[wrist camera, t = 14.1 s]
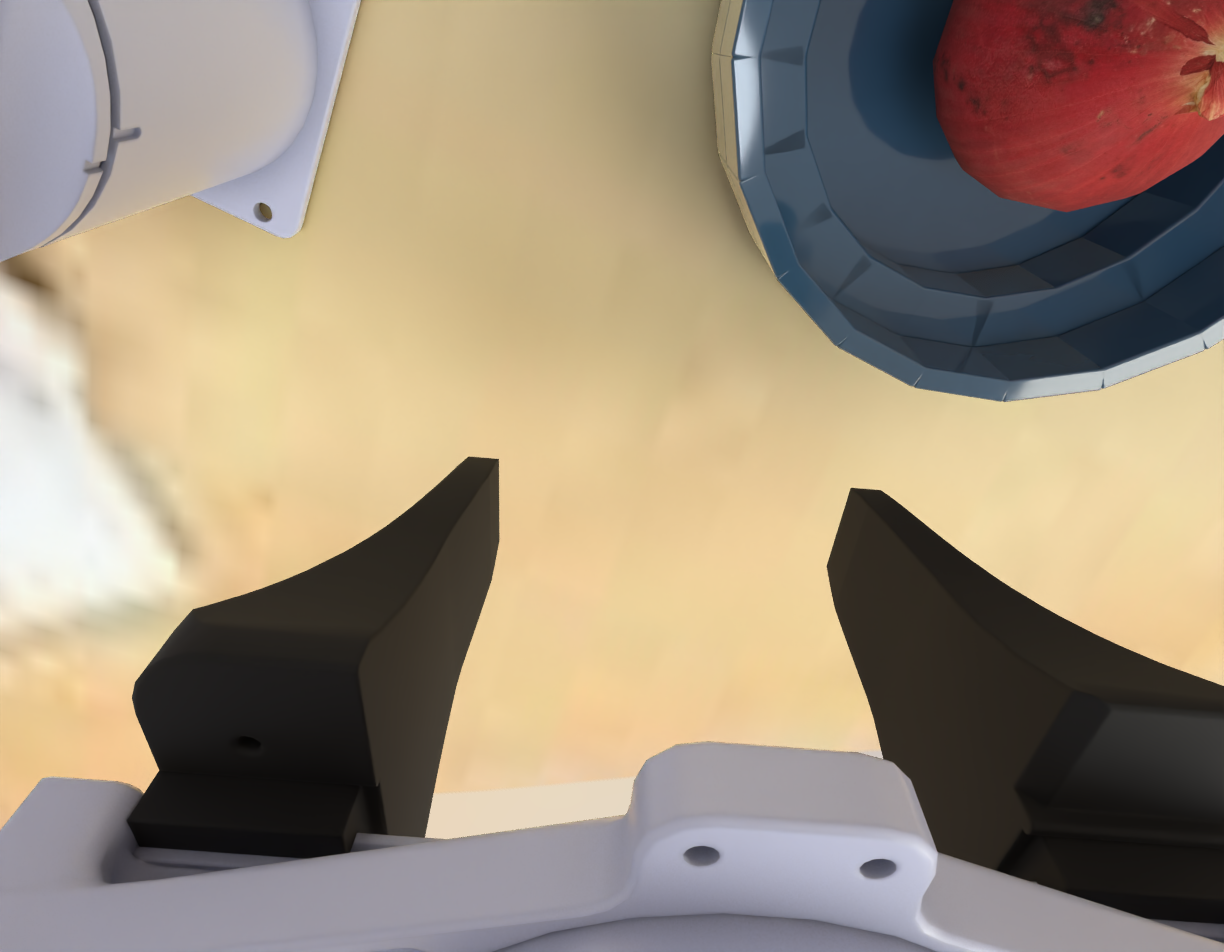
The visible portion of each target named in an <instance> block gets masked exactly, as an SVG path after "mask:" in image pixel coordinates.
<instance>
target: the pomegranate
mask: <svg viewBox="0 0 1224 952" xmlns="http://www.w3.org/2000/svg"><path fill="white" fill-rule="evenodd" d="M933 73H934V88H935V103H936V117H937V119H938V121H939V123H940V126H941V128H942V130H943V132H944V134H945V137H946V139H947V141H948V143H949V146H950V148H951V150H952V152H953V154H954V157H955V159H956V160H957V162H958V163H959V165H960V167H961V168H962V170H964V171H965V172H966V173H968V174H969V175H970V176H972V177H973V178H974V179H976V180H977V181H978V182H980V183H981V184H982V185H984V186H985V187H986V188H988V189H989V190H990V191H992V192H993V193H994V194H996V195H997V196H998V197H1000V198H1004V199H1009V200H1013V201H1018V202H1022V203H1026V204H1031V205H1035V206H1040V207H1044V208H1049V209H1054V210H1058V211H1063V212H1070V211H1074V210H1078V209H1083V208H1087V207H1091V206H1095V205H1099V204H1104V203H1108V202H1112V201H1116V200H1121V199H1125V198H1127V197H1130V196H1133V195H1136V194H1139V193H1142V192H1143V191H1145V190H1147V189H1148V188H1150V187H1152V186H1153V185H1155V184H1157V183H1158V182H1160V181H1162V180H1163V179H1165V178H1167V177H1168V176H1170V175H1172V174H1173V173H1175V172H1177V171H1178V170H1180V169H1182V168H1183V167H1185V166H1187V165H1189V164H1190V163H1192V162H1193V161H1195V160H1196V159H1198V158H1199V157H1200V156H1202V155H1203V154H1204V153H1205V152H1206V151H1207V150H1208V149H1209V148H1210V147H1211V146H1212V145H1213V144H1214V143H1215V142H1216V141H1217V140H1218V139H1219V138H1220V137H1221V136H1222V135H1223V134H1224V0H953V3H952V6H951V9H950V12H949V15H948V18H947V21H946V24H945V27H944V30H943V33H942V36H941V39H940V42H939V45H938V48H937V51H936V54H935V56H934V59H933Z"/></svg>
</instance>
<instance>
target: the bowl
mask: <svg viewBox="0 0 1224 952" xmlns="http://www.w3.org/2000/svg"><path fill="white" fill-rule="evenodd" d="M952 3H953V0H721V3H720V8H719V13H718V18H717V23H716V28H715V33H714V38H713V43H712V48H711V51H712V53H713V54H712V55H711V65H712V79H713V92H714V106H715V119H716V133H717V146H718V151H719V158H720V160H721V163H722V165H723V168H724V170H725V173H726V175H727V178H728V180H729V183H730V185H731V188H732V190H733V193H734V195H735V198H736V200H737V203H738V205H739V208H740V210H741V213H742V216H743V218H744V221H745V223H746V226H747V228H748V231H749V233H750V234H751V236H752V238H753V240H754V241H755V243H756V245H757V246H758V248H759V250H760V251H761V253H762V255H763V257H764V258H765V260H766V262H767V263H768V265H769V267H770V269H771V270H772V272H773V274H774V275H775V277H776V279H777V280H778V282H779V283H780V284H781V285H782V286H783V287H784V288H785V289H786V291H787V292H788V293H789V294H790V295H791V296H792V297H793V299H794V300H795V301H796V302H797V303H798V304H799V305H800V307H801V308H802V309H803V310H804V311H805V312H806V313H807V314H808V316H809V317H810V318H811V319H812V320H813V321H814V322H815V324H816V325H817V326H818V327H819V328H820V329H821V330H822V331H823V333H824V334H825V335H826V336H827V337H828V338H829V339H830V341H831V342H832V343H833V344H834V345H835V346H837V347H838V348H840V349H841V350H843V351H845V352H847V353H849V354H851V355H853V356H855V357H856V358H858V359H860V360H862V361H864V362H866V363H868V364H870V365H872V366H873V367H875V368H877V369H879V370H881V371H883V372H885V373H887V374H888V375H890V376H892V377H894V378H896V379H898V380H900V381H902V382H903V383H905V384H907V385H909V386H913V387H915V388H919V389H925V390H931V391H937V392H944V393H950V394H956V395H963V396H969V397H975V398H981V399H988V400H994V401H1000V402H1001V401H1004V402H1008V401H1016V400H1024V399H1032V398H1040V397H1048V396H1056V395H1064V394H1072V393H1080V392H1088V391H1096V390H1101V388H1102V389H1103V388H1107V387H1109V386H1112V385H1115V384H1117V383H1120V382H1123V381H1125V380H1128V379H1131V378H1133V377H1136V376H1139V375H1141V374H1144V373H1147V372H1149V371H1152V370H1154V369H1157V368H1160V367H1162V366H1165V365H1168V364H1170V363H1173V362H1176V361H1178V360H1181V359H1184V358H1186V357H1189V356H1191V355H1194V354H1197V353H1199V352H1202V351H1204V350H1205V349H1209V348H1211V347H1212V346H1214V345H1215V344H1217V343H1218V342H1220V341H1222V340H1223V339H1224V134H1223V135H1222V136H1221V137H1220V138H1219V139H1218V140H1217V141H1216V142H1215V143H1214V144H1213V145H1212V146H1211V147H1210V148H1209V149H1208V150H1207V151H1206V152H1205V153H1204V154H1203V155H1202V156H1200V157H1199V158H1198V159H1196V160H1195V161H1193V162H1192V163H1190V164H1189V165H1187V166H1185V167H1183V168H1182V169H1180V170H1178V171H1177V172H1175V173H1173V174H1172V175H1170V176H1168V177H1167V178H1165V179H1163V180H1162V181H1160V182H1158V183H1157V184H1155V185H1153V186H1152V187H1150V188H1148V189H1147V190H1145V191H1143V192H1142V193H1139V194H1136V195H1133V196H1130V197H1127V198H1125V199H1121V200H1116V201H1112V202H1108V203H1104V204H1099V205H1095V206H1091V207H1087V208H1083V209H1078V210H1074V211H1070V212H1063V211H1058V210H1054V209H1049V208H1044V207H1040V206H1035V205H1031V204H1026V203H1022V202H1018V201H1013V200H1009V199H1004V198H1000V197H998V196H997V195H996V194H994V193H993V192H992V191H990V190H989V189H988V188H986V187H985V186H984V185H982V184H981V183H980V182H978V181H977V180H976V179H974V178H973V177H972V176H970V175H969V174H968V173H966V172H965V171H964V170H962V168H961V167H960V165H959V163H958V162H957V160H956V159H955V157H954V154H953V152H952V150H951V148H950V146H949V143H948V141H947V139H946V137H945V134H944V132H943V130H942V128H941V126H940V123H939V121H938V119H937V117H936V103H935V88H934V73H933V59H934V56H935V54H936V51H937V48H938V45H939V42H940V39H941V36H942V33H943V30H944V27H945V24H946V21H947V18H948V15H949V12H950V9H951V6H952Z"/></svg>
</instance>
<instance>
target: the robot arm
mask: <svg viewBox="0 0 1224 952" xmlns="http://www.w3.org/2000/svg"><path fill="white" fill-rule="evenodd" d="M360 3H361V0H0V262H2V261H4V260H7V259H9V258H12V257H14V256H17V255H20V254H22V253H25V252H28V251H31V250H33V249H36V248H40V247H44V246H46V245H49V244H52V243H55V242H58V241H61V240H63V239H66V238H69V237H72V236H75V235H78V234H80V233H83V232H86V231H89V230H92V229H95V228H97V227H100V226H103V225H106V224H109V223H112V222H114V221H117V220H120V219H123V218H126V217H129V216H131V215H134V214H137V213H140V212H143V211H146V210H148V209H151V208H154V207H157V206H160V205H163V204H165V203H168V202H171V201H174V200H177V199H180V198H182V197H185V196H188V195H191V196H193V197H195V198H197V199H199V200H201V201H203V202H206V203H208V204H210V205H212V206H214V207H216V208H218V209H220V210H222V211H225V212H227V213H229V214H231V215H233V216H235V217H237V218H239V219H241V220H244V221H246V222H248V223H250V224H252V225H254V226H256V227H258V228H260V229H263V230H265V231H267V232H269V233H271V234H273V235H275V236H278V237H281V238H290V237H292V236H294V235H295V234H297V233H298V232H300V230H301V228H302V225H303V222H304V218H305V214H306V210H307V206H308V202H309V199H310V195H311V191H312V187H313V183H314V179H315V175H316V172H317V168H318V164H319V160H320V156H321V152H322V149H323V145H324V141H325V137H326V133H327V129H328V126H329V122H330V118H331V114H332V110H333V106H334V102H335V99H336V95H337V91H338V87H339V83H340V79H341V76H342V72H343V68H344V64H345V60H346V56H347V53H348V49H349V45H350V41H351V37H352V33H353V29H354V26H355V22H356V18H357V14H358V10H359V6H360ZM260 203H264V204H266V205H267V206H268V207H269V208H270V209H271V211H272V218H271V219H268V218H266V217H265V216H263V215H262V213H261V211H260ZM498 544H499V459H491V458H479V457H468V458H467V459H465V460H464V461H463V462H462V463H461V464H460V465H458V466H457V467H456V468H455V469H454V470H453V471H452V472H451V473H450V474H449V475H448V476H447V477H445V478H444V479H443V480H442V481H441V482H440V483H439V484H438V485H437V486H436V487H434V488H433V489H432V490H431V491H430V492H429V493H427V494H426V495H425V496H424V497H423V498H422V499H420V500H419V501H418V502H417V503H416V504H415V505H413V506H412V507H411V508H410V509H408V510H407V511H406V512H405V513H403V514H402V515H401V516H399V517H398V518H397V519H395V520H394V521H393V522H391V523H390V524H389V525H387V526H386V527H384V528H383V529H381V530H380V531H378V532H377V533H375V534H374V535H372V536H371V537H369V538H367V539H366V540H364V541H362V542H361V543H359V544H357V545H356V546H354V547H352V548H351V549H349V550H347V551H345V552H343V553H341V554H339V555H337V556H335V557H333V558H331V559H329V560H327V561H325V562H323V563H321V564H319V565H317V566H315V567H313V568H311V569H309V570H307V571H305V572H302V573H300V574H298V575H295V576H293V577H290V578H288V579H286V580H283V581H281V582H278V583H275V584H273V585H270V586H267V587H265V588H262V589H259V590H256V591H253V592H250V593H247V594H244V595H241V596H238V597H234V598H231V599H228V600H224V601H221V602H217V603H214V604H211V605H207V606H204V607H200V608H196V609H193V610H192V611H191V612H190V613H189V614H188V616H187V617H186V618H185V619H184V620H183V621H182V622H181V623H180V625H179V626H178V627H177V628H176V629H175V630H174V632H173V633H172V634H171V636H170V637H169V638H168V640H167V641H166V642H165V644H164V645H163V646H162V648H161V649H160V650H159V652H158V653H157V654H156V656H155V657H154V658H153V660H152V661H151V662H150V663H149V665H148V666H147V667H146V669H145V670H144V671H143V673H142V674H141V675H140V677H139V678H138V679H137V681H136V682H135V686H134V690H133V695H132V700H133V704H134V709H135V713H136V716H137V718H138V721H139V723H140V725H141V728H142V730H143V733H144V735H145V737H146V740H147V742H148V744H149V747H150V749H151V752H152V754H153V756H154V759H155V761H156V763H157V766H158V768H159V772H158V773H157V775H156V776H155V778H154V779H153V781H152V783H151V784H150V786H149V787H148V789H147V790H146V792H145V793H143V792H142V791H141V790H140V789H138V788H136V787H134V786H132V785H130V784H127V783H123V782H118V781H107V780H93V779H79V778H65V777H46V778H43V779H41V780H40V781H39V783H38V784H37V785H36V786H35V788H34V789H33V790H32V791H31V793H30V794H29V795H28V796H27V798H26V799H25V800H24V801H23V803H22V804H21V805H20V806H19V808H18V809H17V810H16V811H15V813H14V814H13V815H12V816H11V818H10V819H9V820H8V821H7V823H6V824H5V825H4V826H3V828H2V829H1V830H0V952H1224V686H1222V685H1219V684H1216V683H1214V682H1211V681H1208V680H1205V679H1203V678H1200V677H1197V676H1194V675H1192V674H1189V673H1186V672H1183V671H1180V670H1178V669H1175V668H1172V667H1169V666H1167V665H1164V664H1162V663H1159V662H1157V661H1154V660H1152V659H1150V658H1147V657H1145V656H1143V655H1140V654H1138V653H1136V652H1133V651H1131V650H1129V649H1126V648H1124V647H1121V646H1119V645H1117V644H1115V643H1113V642H1111V641H1108V640H1106V639H1104V638H1102V637H1100V636H1098V635H1096V634H1094V633H1092V632H1090V631H1088V630H1086V629H1084V628H1082V627H1080V626H1078V625H1076V624H1074V623H1072V622H1070V621H1068V620H1066V619H1064V618H1062V617H1060V616H1058V615H1057V614H1055V613H1053V612H1051V611H1049V610H1048V609H1046V608H1044V607H1042V606H1040V605H1039V604H1037V603H1036V602H1034V601H1032V600H1031V599H1029V598H1027V597H1026V596H1024V595H1022V594H1021V593H1019V592H1017V591H1016V590H1014V589H1012V588H1011V587H1009V586H1008V585H1006V584H1005V583H1003V582H1002V581H1000V580H999V579H997V578H996V577H994V576H993V575H991V574H990V573H988V572H987V571H986V570H984V569H983V568H981V567H980V566H979V565H977V564H976V563H974V562H973V561H971V560H970V559H969V558H967V557H966V556H965V555H963V554H962V553H961V552H959V551H958V550H957V549H955V548H954V547H953V546H952V545H950V544H949V543H948V542H946V541H945V540H944V539H943V538H941V537H940V536H939V535H938V534H936V533H935V532H934V531H933V530H931V529H930V528H929V527H928V526H926V525H925V524H924V523H923V522H921V521H920V520H919V519H918V518H916V517H915V516H914V515H913V514H912V513H910V512H909V511H908V510H907V509H905V508H904V507H903V506H902V505H900V504H899V503H898V502H896V501H895V500H894V499H892V498H891V497H890V496H888V495H887V494H885V493H884V492H882V491H881V490H871V489H858V488H851V489H850V492H849V496H848V499H847V502H846V505H845V509H844V512H843V515H842V518H841V522H840V525H839V528H838V531H837V534H836V538H835V541H834V544H833V547H832V551H831V554H830V557H829V560H828V564H827V570H828V576H829V582H830V587H831V592H832V597H833V601H834V606H835V610H836V613H837V616H838V619H839V621H840V624H841V627H842V630H843V633H844V635H845V638H846V641H847V644H848V647H849V649H850V652H851V655H852V657H853V660H854V663H855V666H856V668H857V671H858V674H859V677H860V679H861V682H862V685H863V688H864V690H865V693H866V696H867V699H868V702H869V705H870V708H871V711H872V715H873V718H874V722H875V726H876V730H877V734H878V738H879V743H880V747H881V751H882V755H883V759H880V758H877V757H873V756H869V755H865V754H862V753H858V752H844V751H831V750H818V749H804V748H791V747H778V746H765V745H751V744H738V743H725V742H711V741H707V742H696V743H685V744H676V745H674V746H672V747H670V748H668V749H666V750H665V751H663V752H661V753H659V754H657V755H655V756H653V757H651V758H649V759H648V760H646V762H645V763H644V765H643V767H642V768H641V770H640V772H639V773H638V775H637V777H636V778H635V780H634V784H633V791H632V797H631V804H630V806H629V809H628V812H627V813H626V814H625V815H619V816H612V817H605V818H597V819H591V820H583V821H577V822H569V823H562V824H554V825H547V826H540V827H533V828H525V829H518V830H511V831H504V832H496V833H490V834H482V835H475V836H467V837H461V838H453V839H434V838H425V834H426V828H427V823H428V818H429V813H430V808H431V803H432V798H433V793H434V788H435V783H436V777H437V773H438V768H439V763H440V758H441V754H442V749H443V744H444V739H445V735H446V730H447V725H448V721H449V716H450V712H451V708H452V703H453V699H454V694H455V690H456V686H457V682H458V679H459V675H460V672H461V668H462V665H463V662H464V660H465V657H466V654H467V651H468V648H469V645H470V642H471V639H472V636H473V633H474V630H475V628H476V625H477V622H478V619H479V616H480V613H481V610H482V607H483V604H484V601H485V598H486V595H487V592H488V589H489V586H490V583H491V580H492V575H493V570H494V565H495V560H496V555H497V550H498Z"/></svg>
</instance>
